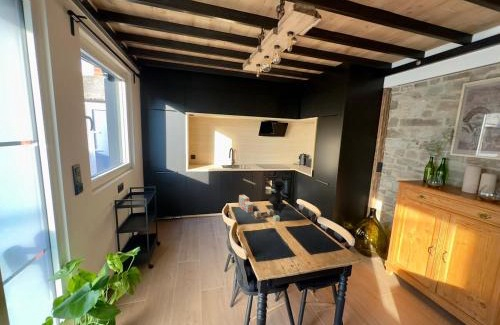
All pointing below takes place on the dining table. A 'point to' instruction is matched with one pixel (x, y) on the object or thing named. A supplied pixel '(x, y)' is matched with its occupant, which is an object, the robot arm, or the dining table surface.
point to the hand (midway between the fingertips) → (276, 211)
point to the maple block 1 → (257, 213)
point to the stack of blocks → (245, 203)
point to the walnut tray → (263, 215)
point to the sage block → (276, 218)
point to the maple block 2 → (270, 211)
